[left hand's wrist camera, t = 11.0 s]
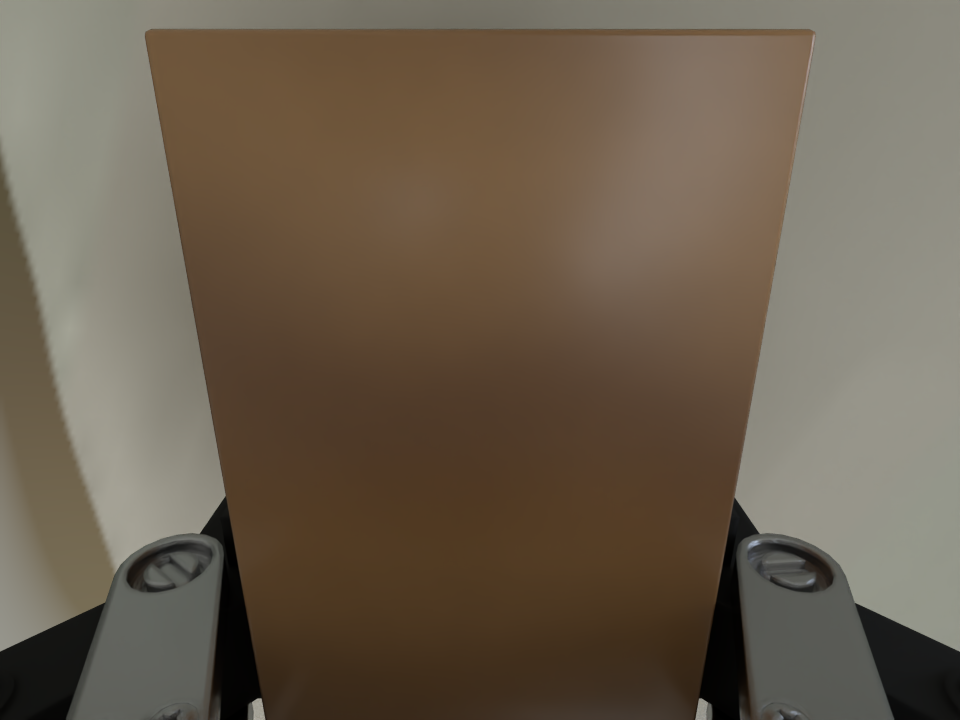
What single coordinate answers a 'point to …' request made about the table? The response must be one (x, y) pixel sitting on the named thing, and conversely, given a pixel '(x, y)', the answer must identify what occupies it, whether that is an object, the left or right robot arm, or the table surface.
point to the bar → (480, 349)
